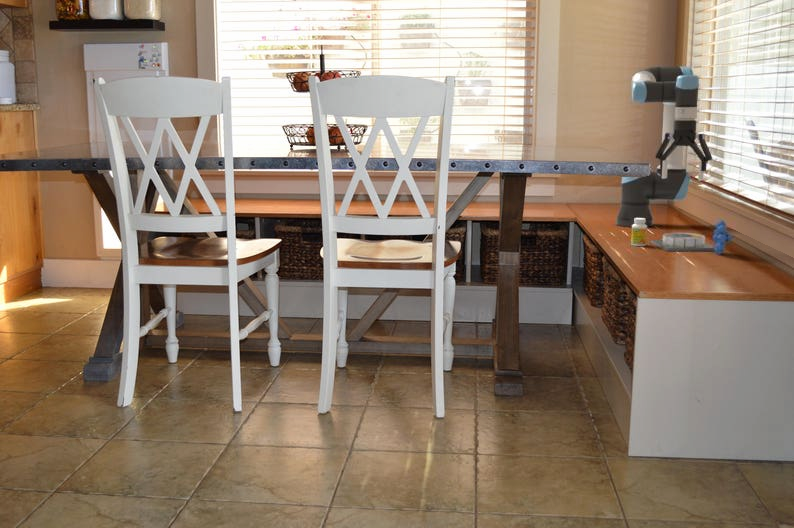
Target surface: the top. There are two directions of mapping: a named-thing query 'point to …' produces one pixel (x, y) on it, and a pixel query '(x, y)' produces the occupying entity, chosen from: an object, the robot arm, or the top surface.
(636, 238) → the supplement bottle
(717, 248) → the grapes
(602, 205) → the top surface
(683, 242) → the hub plate
